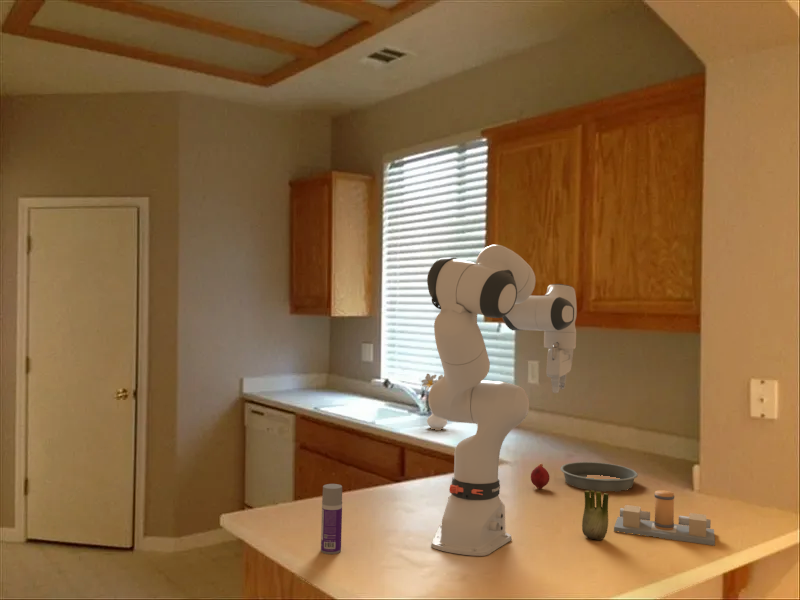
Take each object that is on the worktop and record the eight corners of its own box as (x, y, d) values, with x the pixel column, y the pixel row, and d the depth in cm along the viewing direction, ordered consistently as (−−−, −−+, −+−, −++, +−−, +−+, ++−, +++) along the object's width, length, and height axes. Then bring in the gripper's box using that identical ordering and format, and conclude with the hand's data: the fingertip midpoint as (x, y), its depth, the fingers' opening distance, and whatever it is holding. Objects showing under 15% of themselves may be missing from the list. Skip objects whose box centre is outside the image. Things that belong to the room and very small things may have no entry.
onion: (540, 492, 225) (541, 466, 225) (526, 488, 230) (527, 463, 230) (552, 489, 229) (553, 464, 229) (538, 485, 233) (539, 460, 233)
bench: (714, 545, 179) (715, 524, 179) (614, 531, 188) (614, 511, 188) (713, 533, 188) (714, 513, 188) (617, 521, 197) (618, 501, 197)
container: (345, 550, 169) (346, 486, 169) (330, 555, 165) (332, 489, 165) (331, 545, 172) (333, 482, 172) (316, 550, 168) (318, 486, 168)
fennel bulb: (609, 540, 181) (611, 492, 181) (597, 543, 178) (599, 495, 178) (590, 533, 186) (591, 487, 186) (578, 537, 183) (579, 489, 183)
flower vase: (452, 433, 322) (454, 377, 322) (414, 429, 330) (415, 374, 330) (462, 429, 334) (463, 374, 334) (425, 425, 342) (427, 372, 342)
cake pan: (546, 476, 248) (547, 463, 248) (610, 473, 254) (610, 460, 254) (584, 495, 224) (584, 481, 224) (653, 491, 231) (653, 477, 231)
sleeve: (674, 531, 185) (674, 495, 185) (654, 528, 187) (654, 493, 187) (673, 525, 190) (674, 491, 190) (654, 523, 191) (654, 489, 192)
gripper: (565, 344, 194) (563, 395, 194) (576, 340, 213) (575, 388, 213) (541, 343, 196) (540, 394, 196) (554, 339, 215) (553, 386, 215)
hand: (558, 390), depth 205 cm, fingers open, 8 cm apart
